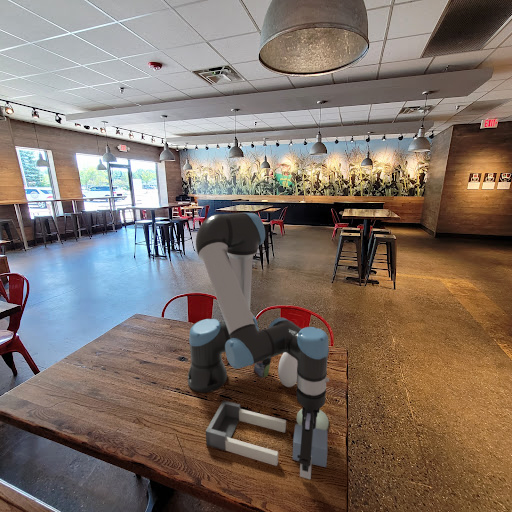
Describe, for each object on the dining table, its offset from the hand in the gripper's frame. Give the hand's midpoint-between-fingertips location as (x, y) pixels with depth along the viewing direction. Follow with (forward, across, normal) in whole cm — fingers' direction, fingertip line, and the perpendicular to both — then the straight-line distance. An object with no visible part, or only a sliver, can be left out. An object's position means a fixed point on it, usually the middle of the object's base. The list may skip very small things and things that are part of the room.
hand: (308, 452), depth 75 cm
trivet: (+1, +12, 0) cm, 12 cm away
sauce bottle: (+1, +26, +11) cm, 28 cm away
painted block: (+1, +1, 0) cm, 1 cm away
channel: (+1, 0, +15) cm, 15 cm away
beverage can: (+1, +29, +22) cm, 36 cm away
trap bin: (+1, 0, +26) cm, 26 cm away
